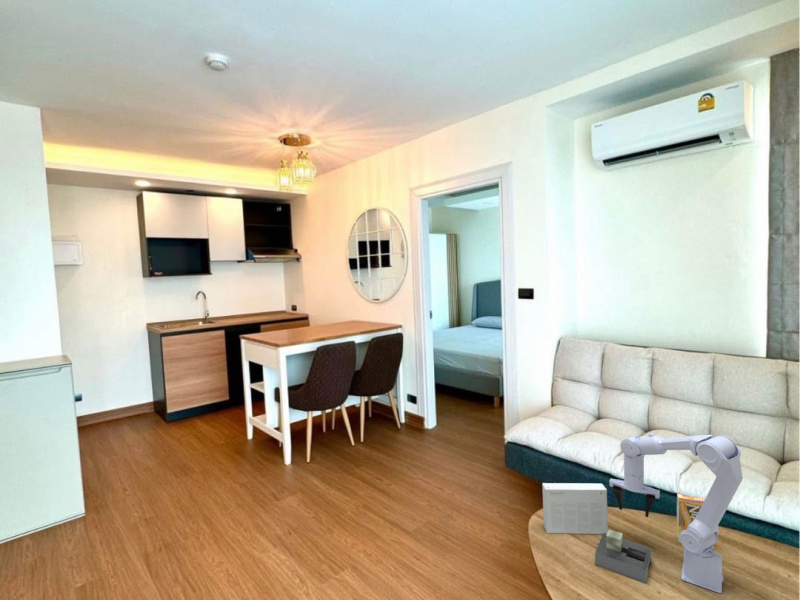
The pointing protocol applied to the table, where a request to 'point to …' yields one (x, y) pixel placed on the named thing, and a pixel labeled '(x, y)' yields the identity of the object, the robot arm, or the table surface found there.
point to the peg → (614, 540)
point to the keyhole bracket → (624, 559)
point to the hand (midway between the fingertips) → (633, 511)
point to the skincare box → (575, 508)
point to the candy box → (687, 511)
